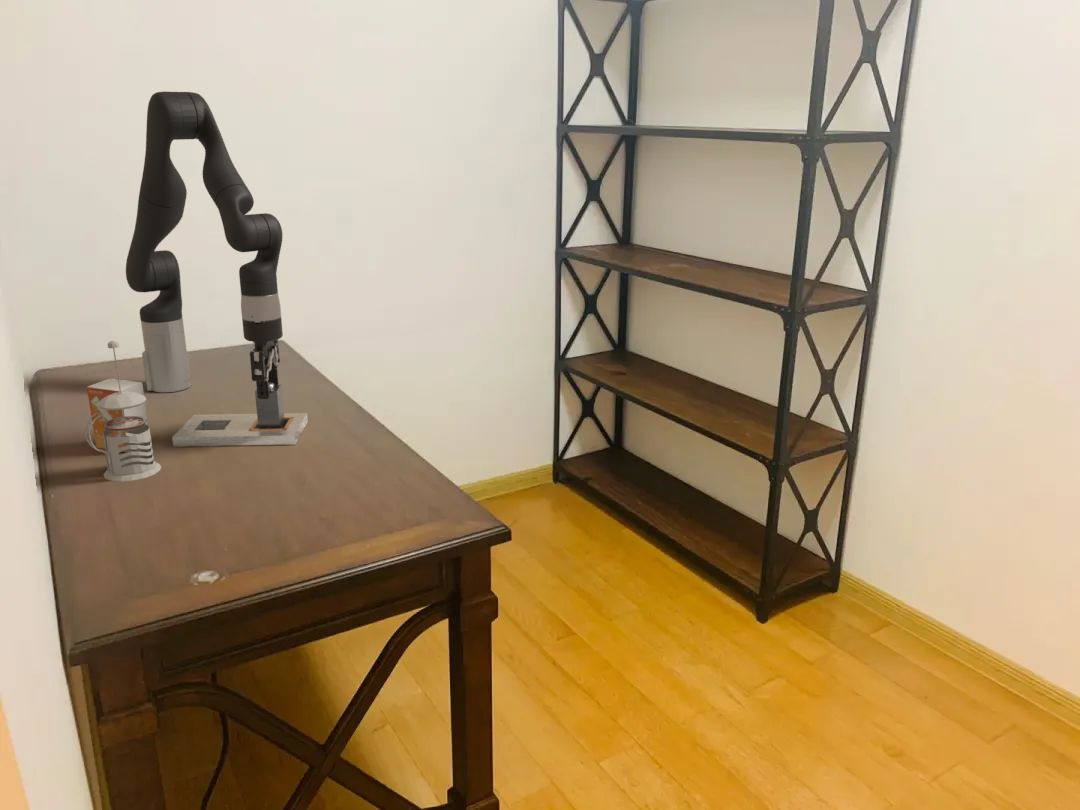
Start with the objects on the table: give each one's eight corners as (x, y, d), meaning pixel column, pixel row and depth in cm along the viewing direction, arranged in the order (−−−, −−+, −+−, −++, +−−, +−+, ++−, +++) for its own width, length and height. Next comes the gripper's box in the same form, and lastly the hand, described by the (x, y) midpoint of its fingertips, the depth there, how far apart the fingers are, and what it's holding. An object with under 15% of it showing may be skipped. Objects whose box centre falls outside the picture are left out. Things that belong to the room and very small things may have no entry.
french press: (170, 470, 156) (152, 340, 148) (105, 489, 148) (83, 352, 140) (148, 457, 163) (129, 331, 155) (84, 473, 155) (61, 342, 147)
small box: (95, 448, 166) (85, 386, 162) (119, 438, 172) (110, 377, 168) (128, 453, 164) (118, 390, 160) (152, 442, 170) (143, 381, 166)
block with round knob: (259, 437, 174) (254, 387, 170) (264, 429, 178) (259, 381, 175) (281, 436, 174) (276, 387, 171) (285, 429, 178) (280, 380, 175)
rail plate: (173, 446, 168) (172, 436, 167) (195, 423, 181) (193, 413, 181) (295, 444, 170) (294, 434, 169) (307, 421, 183) (306, 412, 182)
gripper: (251, 307, 175) (258, 382, 180) (233, 323, 161) (241, 403, 166) (287, 307, 175) (293, 381, 180) (272, 323, 162) (279, 402, 167)
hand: (268, 392), depth 173 cm, fingers open, 8 cm apart
